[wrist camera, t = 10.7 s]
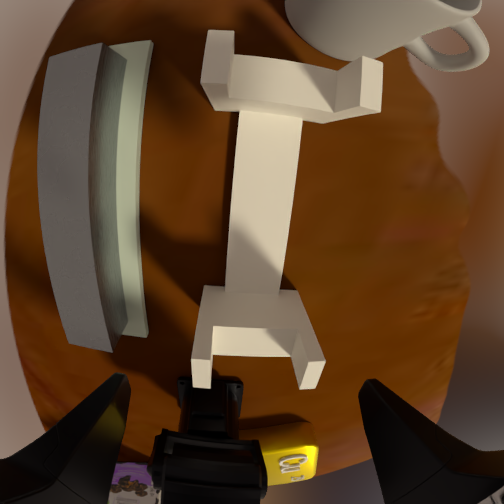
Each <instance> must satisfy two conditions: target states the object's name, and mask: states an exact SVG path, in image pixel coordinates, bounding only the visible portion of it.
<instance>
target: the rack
mask: <svg viewBox="0 0 504 504" xmlns="http://www.w3.org/2000/svg"><path fill="white" fill-rule="evenodd" d="M382 80H383V63H382V62H380V61H377V60H374V59H371V58H368V57H365V56H361V57H359V58H357V59H356V60H354V61H353V62H351V63H349V64H348V65H346V66H345V67H343V68H342V69H340V70H338V71H335V70H331V69H327V68H323V67H318V66H314V65H309V64H304V63H299V62H293V61H287V60H281V59H274V58H266V57H258V56H248V55H236V54H234V31H226V30H208V34H207V40H206V46H205V53H204V59H203V66H202V74H201V81H200V83H201V85H202V87H203V89H204V91H205V93H206V94H207V96H208V98H209V100H210V102H211V104H212V106H213V108H214V110H215V111H231V112H240V113H239V122H238V132H237V142H236V153H235V163H234V174H233V186H232V198H231V210H230V223H229V236H228V250H227V265H226V280H225V287H223V286H209V285H204V288H203V294H202V299H201V304H200V310H199V315H198V321H197V327H196V332H195V338H194V344H193V350H192V356H191V365H192V380H193V387H196V388H208V389H210V387H211V372H212V358H213V354H214V355H232V356H264V357H291V358H292V362H293V366H294V370H295V374H296V378H297V382H298V386H299V389H314V388H316V385H317V383H318V380H319V378H320V375H321V372H322V370H323V367H324V364H325V362H326V360H325V358H324V355H323V353H322V350H321V348H320V345H319V343H318V340H317V338H316V335H315V333H314V330H313V328H312V325H311V323H310V320H309V318H308V315H307V313H306V311H305V308H304V306H303V303H302V301H301V298H300V296H299V294H298V291H297V290H280V284H281V278H282V271H283V265H284V258H285V252H286V245H287V239H288V232H289V225H290V218H291V210H292V203H293V196H294V188H295V180H296V172H297V164H298V156H299V147H300V138H301V129H302V120H306V121H311V122H317V123H322V124H323V123H327V122H332V121H336V120H341V119H346V118H351V117H356V116H362V115H367V114H373V113H379V112H381V100H382Z"/></svg>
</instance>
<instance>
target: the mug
mask: <svg viewBox="0 0 504 504" xmlns="http://www.w3.org/2000/svg"><path fill="white" fill-rule="evenodd" d="M481 5H482V0H285V11H286V15H287V18H288V20H289V22H290V24H291V25H292V27H293V29H294V30H295V31H296V32H297V34H298V35H299V36H300V37H301V38H302V39H303V40H305V41H306V42H307V43H308V44H309V45H311V46H312V47H314V48H315V49H317V50H319V51H320V52H322V53H324V54H326V55H329V56H331V57H334V58H337V59H341V60H345V61H354V60H356V59H357V58H359V57H361V56H365V57H368V58H371V59H374V58H377V57H379V56H381V55H383V54H385V53H387V52H389V51H391V50H393V49H396V48H398V47H400V46H403V47H405V48H406V49H407V50H408V51H409V52H411V53H412V54H413V55H414V56H416V58H418V59H419V60H420V61H421V62H423V63H425V64H426V65H428V66H430V67H431V68H434V69H436V70H441V71H450V72H452V71H464V70H469V69H472V68H474V67H477V66H478V65H480V64H482V63H484V62H485V60H486V59H487V58H488V55H489V44H488V41H487V39H486V37H485V35H484V34H483V32H482V30H481V29H480V28H479V26H478V25H477V23H476V22H475V21H474V19H473V18H472V16H474V15H476V14H477V13H478V12H479V11H480V9H481ZM445 27H450V28H451V29H453V30H454V31H456V32H457V33H458V34H459V35H460V36H461V37H462V38H463V39H464V40H465V41H466V42H467V44H468V46H469V48H470V49H469V50H468V51H467V52H465V53H462V54H457V55H446V54H442V53H439V52H437V51H435V50H434V49H432V48H431V47H430V46H429V45H428V44H427V43H426V42H425V41H424V40H423V39H422V38H421V36H423V35H425V34H428V33H430V32H433V31H436V30H439V29H442V28H445Z"/></svg>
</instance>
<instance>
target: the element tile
mask: <svg viewBox="0 0 504 504" xmlns="http://www.w3.org/2000/svg"><path fill="white" fill-rule="evenodd" d="M252 439H255V440H259V443H260V447H261V451H262V455H263V458H264V462H265V465H266V469H267V475H268V486H269V485H277V484H284V483H290V482H296V481H302V480H307V479H310V478H312V477H313V476H314V475H315V472H316V465H317V458H318V450H319V447H318V443H317V439H316V436H315V432H314V428H313V425H312V424H311V423H310V422H295V423H289V424H283V425H277V426H270V427H263V428H255V429H246V430H239V440H252Z"/></svg>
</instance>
